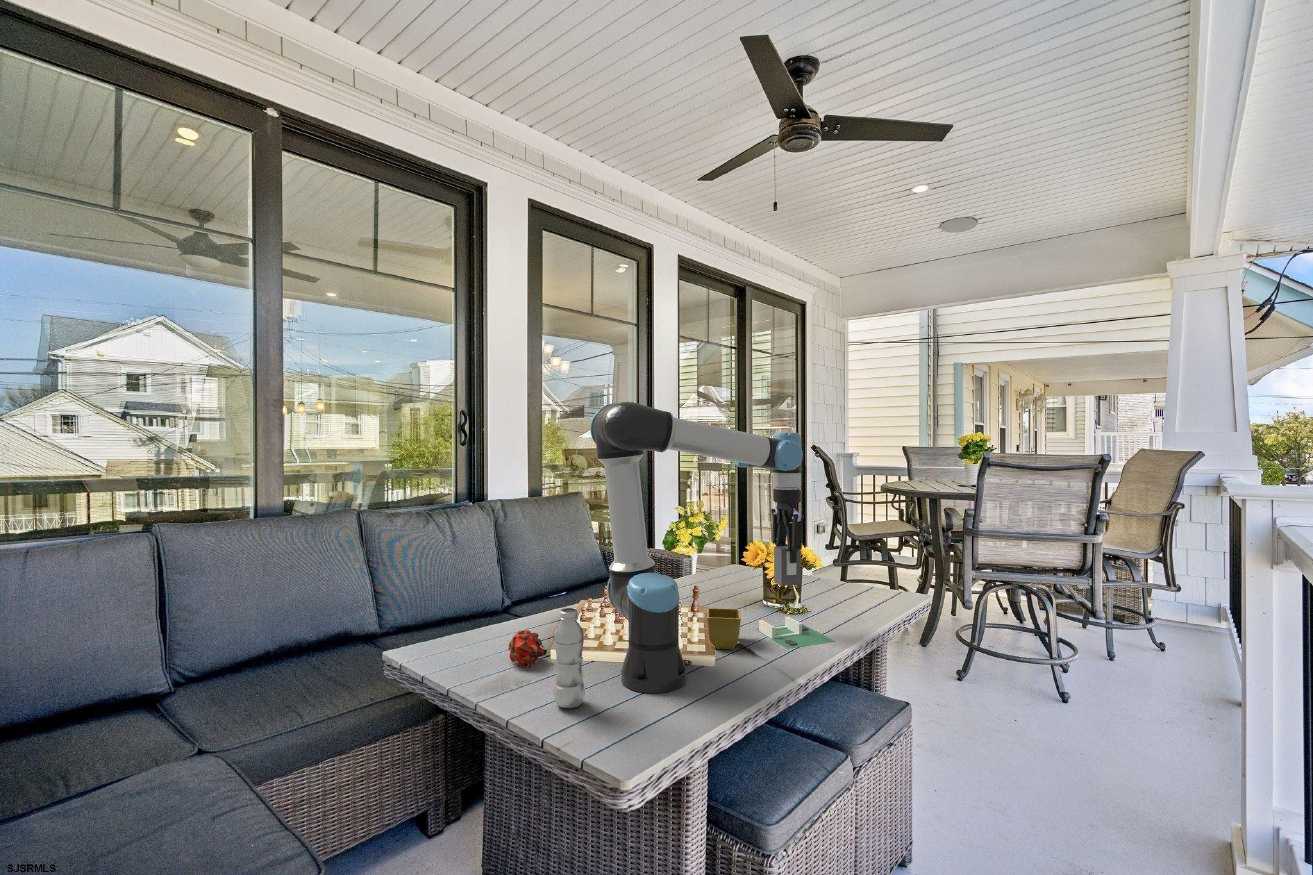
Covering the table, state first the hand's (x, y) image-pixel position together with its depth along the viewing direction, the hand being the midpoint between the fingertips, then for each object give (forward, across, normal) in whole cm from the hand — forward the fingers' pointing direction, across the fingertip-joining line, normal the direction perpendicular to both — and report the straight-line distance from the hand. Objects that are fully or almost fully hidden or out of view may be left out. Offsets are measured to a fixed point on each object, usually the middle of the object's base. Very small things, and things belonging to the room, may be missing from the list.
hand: (786, 572), depth 168 cm
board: (+18, -1, -2) cm, 18 cm away
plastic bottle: (+19, -21, +64) cm, 70 cm away
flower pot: (+19, 0, +19) cm, 27 cm away
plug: (+3, 0, 0) cm, 3 cm away
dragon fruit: (+19, +6, +70) cm, 73 cm away
